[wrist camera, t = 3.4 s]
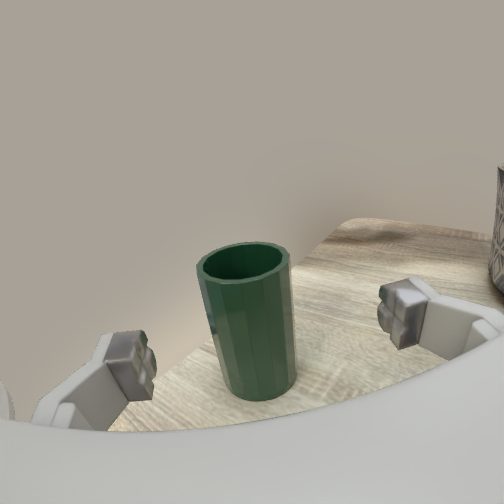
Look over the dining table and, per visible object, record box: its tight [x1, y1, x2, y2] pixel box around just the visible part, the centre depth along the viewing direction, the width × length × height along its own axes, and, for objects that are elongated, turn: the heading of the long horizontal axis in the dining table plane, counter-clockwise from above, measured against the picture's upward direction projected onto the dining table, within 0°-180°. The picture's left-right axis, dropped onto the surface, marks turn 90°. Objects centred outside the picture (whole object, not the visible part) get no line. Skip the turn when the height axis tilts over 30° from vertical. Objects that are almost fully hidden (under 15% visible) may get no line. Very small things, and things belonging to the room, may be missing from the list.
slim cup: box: [196, 242, 297, 401], centre depth 24 cm, size 7×7×12 cm
